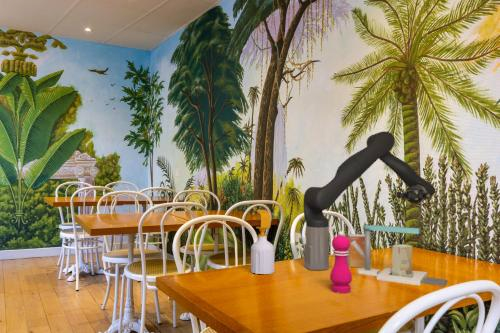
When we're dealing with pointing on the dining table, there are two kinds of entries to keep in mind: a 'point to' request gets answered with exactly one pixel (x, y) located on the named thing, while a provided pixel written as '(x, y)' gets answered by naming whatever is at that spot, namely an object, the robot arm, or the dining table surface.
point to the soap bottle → (262, 248)
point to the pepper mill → (341, 265)
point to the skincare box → (402, 260)
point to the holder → (387, 273)
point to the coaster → (435, 281)
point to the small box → (356, 250)
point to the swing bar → (391, 229)
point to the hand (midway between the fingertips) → (407, 196)
